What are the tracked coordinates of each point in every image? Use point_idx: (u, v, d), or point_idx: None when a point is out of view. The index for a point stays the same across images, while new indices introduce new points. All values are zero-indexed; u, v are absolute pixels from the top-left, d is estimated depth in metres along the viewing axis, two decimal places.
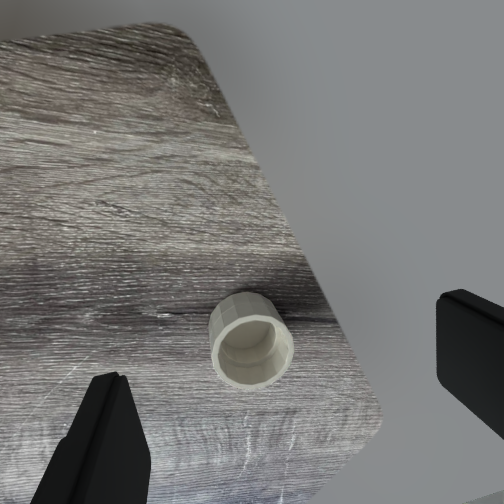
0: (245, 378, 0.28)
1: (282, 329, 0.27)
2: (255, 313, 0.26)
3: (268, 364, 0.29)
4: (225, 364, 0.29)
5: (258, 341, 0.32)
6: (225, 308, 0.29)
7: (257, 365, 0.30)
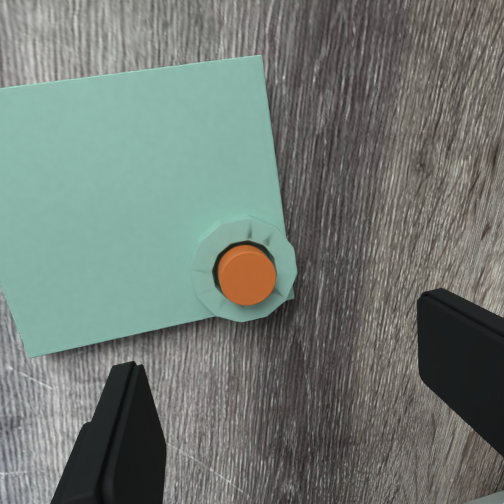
0: None
1: None
2: None
3: None
4: None
5: None
6: None
7: None
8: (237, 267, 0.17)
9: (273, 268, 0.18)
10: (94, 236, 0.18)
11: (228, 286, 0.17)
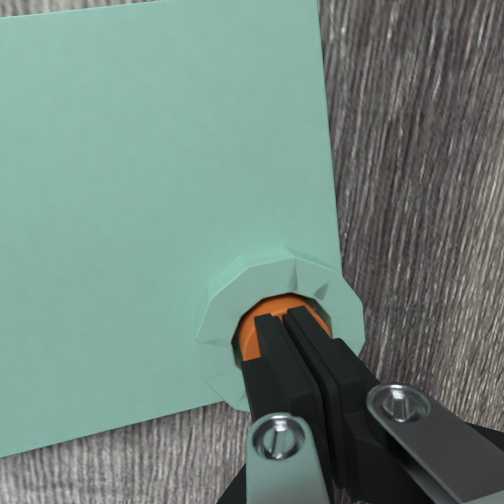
0: None
1: None
2: None
3: None
4: None
5: None
6: None
7: None
8: None
9: (328, 333, 0.11)
10: (39, 286, 0.11)
11: None
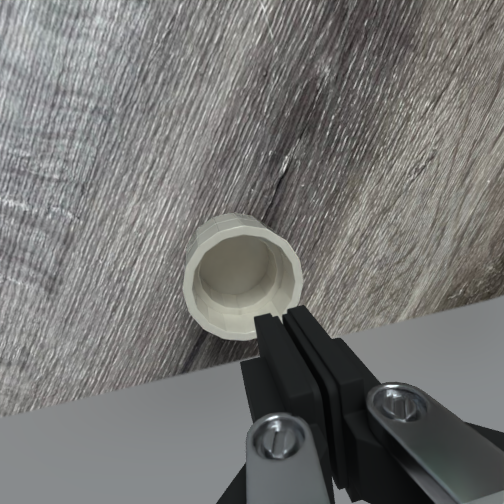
0: None
1: None
2: None
3: (195, 290, 0.20)
4: None
5: (202, 272, 0.23)
6: None
7: None
8: None
9: None
10: None
11: None
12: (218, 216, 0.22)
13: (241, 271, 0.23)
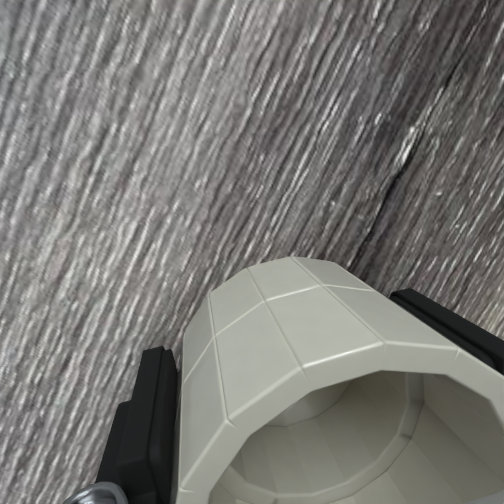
0: None
1: None
2: None
3: None
4: None
5: None
6: None
7: None
8: None
9: None
10: None
11: None
12: (260, 266, 0.09)
13: None
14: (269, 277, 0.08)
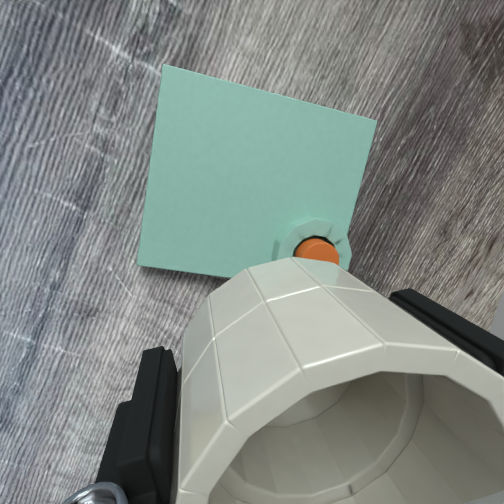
0: None
1: None
2: None
3: None
4: None
5: None
6: None
7: None
8: (317, 251, 0.24)
9: (338, 261, 0.25)
10: (222, 196, 0.25)
11: None
12: (259, 266, 0.09)
13: None
14: (269, 278, 0.08)
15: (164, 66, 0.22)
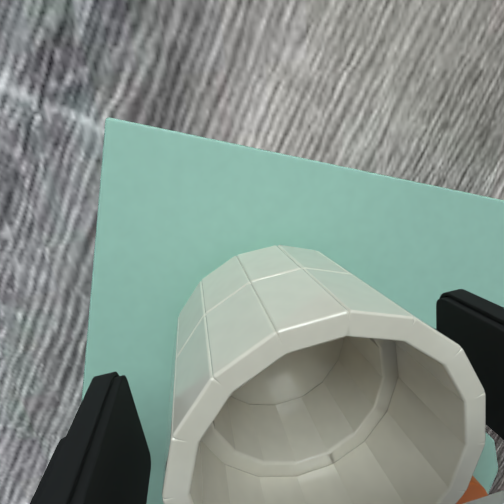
0: None
1: None
2: None
3: None
4: None
5: None
6: None
7: None
8: None
9: None
10: None
11: None
12: (248, 253, 0.10)
13: (290, 360, 0.12)
14: (256, 263, 0.09)
15: (109, 123, 0.09)
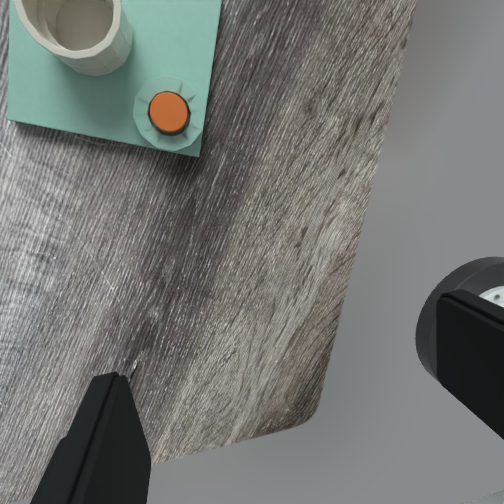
0: None
1: (89, 50, 0.23)
2: (119, 28, 0.23)
3: (36, 22, 0.24)
4: None
5: (61, 38, 0.27)
6: (125, 10, 0.26)
7: (36, 11, 0.24)
8: (164, 100, 0.27)
9: (186, 112, 0.28)
10: None
11: (154, 110, 0.27)
12: None
13: (97, 41, 0.27)
14: None
15: None
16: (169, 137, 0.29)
